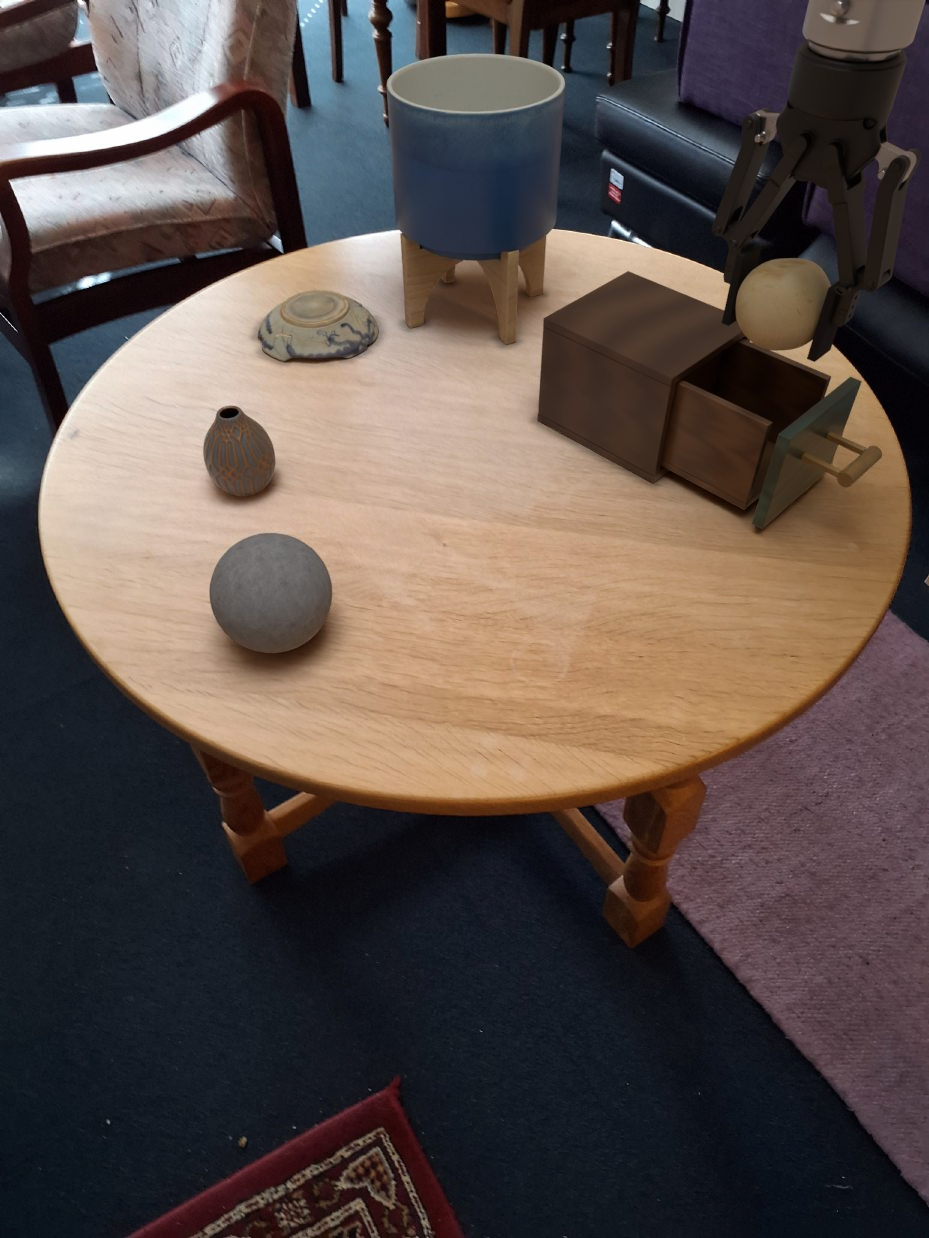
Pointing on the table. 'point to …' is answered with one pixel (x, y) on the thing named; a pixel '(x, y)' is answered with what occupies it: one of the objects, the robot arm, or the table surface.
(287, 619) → the decorative ball
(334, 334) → the decorative bowl
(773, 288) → the apple
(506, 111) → the planter
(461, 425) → the table surface
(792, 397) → the drawer
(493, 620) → the table surface
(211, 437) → the vase
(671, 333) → the cabinet
